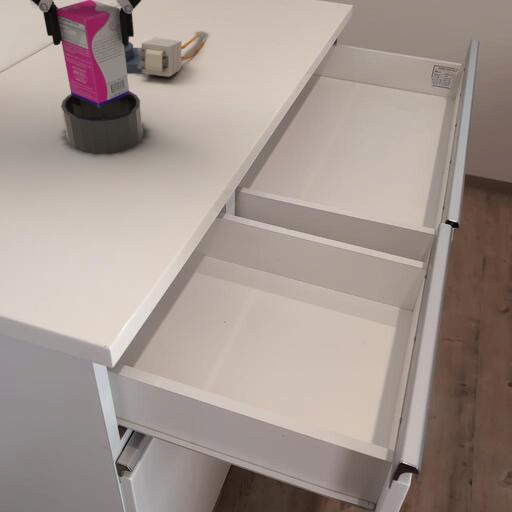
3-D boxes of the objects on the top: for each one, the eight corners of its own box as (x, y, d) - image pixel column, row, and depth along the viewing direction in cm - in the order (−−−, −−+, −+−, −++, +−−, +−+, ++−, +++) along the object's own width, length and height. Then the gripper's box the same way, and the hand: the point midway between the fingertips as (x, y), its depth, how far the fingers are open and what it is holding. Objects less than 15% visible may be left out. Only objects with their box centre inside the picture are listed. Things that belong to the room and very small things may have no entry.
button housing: (86, 73, 97) (83, 54, 95) (90, 56, 103) (88, 37, 101) (143, 73, 98) (142, 54, 96) (144, 56, 104) (143, 38, 102)
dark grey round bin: (64, 160, 75) (56, 121, 71) (73, 124, 83) (66, 86, 79) (142, 159, 77) (139, 120, 73) (143, 123, 85) (140, 86, 81)
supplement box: (101, 82, 78) (90, -3, 71) (130, 94, 76) (122, 8, 68) (68, 94, 75) (54, 7, 67) (98, 108, 72) (86, 19, 65)
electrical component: (179, 51, 115) (180, 26, 113) (207, 55, 115) (208, 30, 112) (137, 73, 95) (136, 43, 92) (170, 78, 94) (170, 48, 91)
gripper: (-24, -121, 55) (16, 52, 67) (151, -112, 57) (160, 53, 69) (-8, -131, 60) (27, 30, 72) (152, -123, 63) (160, 32, 75)
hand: (92, 40), depth 70 cm, fingers closed on supplement box, 8 cm apart
